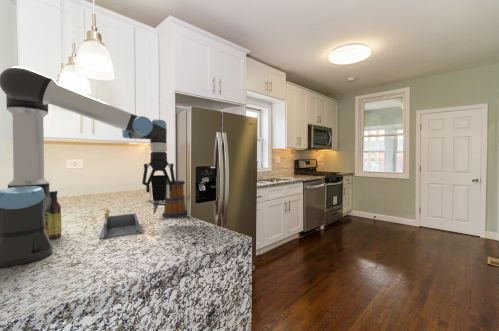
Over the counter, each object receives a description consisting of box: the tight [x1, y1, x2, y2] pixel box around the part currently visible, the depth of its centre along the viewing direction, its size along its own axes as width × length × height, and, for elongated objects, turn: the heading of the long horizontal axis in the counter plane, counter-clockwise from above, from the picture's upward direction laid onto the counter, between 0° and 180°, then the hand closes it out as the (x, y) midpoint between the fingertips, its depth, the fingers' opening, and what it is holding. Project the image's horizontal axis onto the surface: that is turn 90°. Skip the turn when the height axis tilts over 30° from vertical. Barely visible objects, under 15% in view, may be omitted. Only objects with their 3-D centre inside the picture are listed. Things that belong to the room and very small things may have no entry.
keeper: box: [99, 208, 143, 240], centre depth 109 cm, size 18×16×9 cm
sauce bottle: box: [45, 189, 63, 239], centre depth 102 cm, size 7×6×20 cm
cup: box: [150, 174, 167, 202], centre depth 117 cm, size 8×8×12 cm
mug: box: [151, 179, 189, 219], centre depth 137 cm, size 19×14×20 cm
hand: (159, 198), depth 117 cm, fingers closed on cup, 8 cm apart
